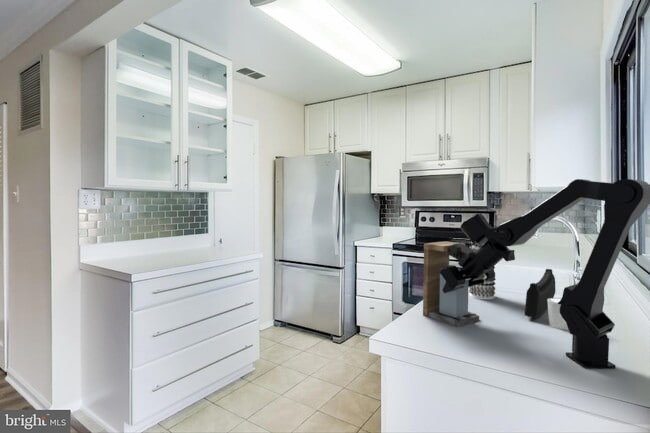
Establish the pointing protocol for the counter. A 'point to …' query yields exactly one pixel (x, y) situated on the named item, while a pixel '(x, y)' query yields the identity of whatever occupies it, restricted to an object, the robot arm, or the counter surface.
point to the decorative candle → (485, 288)
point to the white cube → (556, 314)
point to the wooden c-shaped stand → (438, 283)
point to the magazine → (540, 295)
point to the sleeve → (454, 300)
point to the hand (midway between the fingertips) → (450, 290)
